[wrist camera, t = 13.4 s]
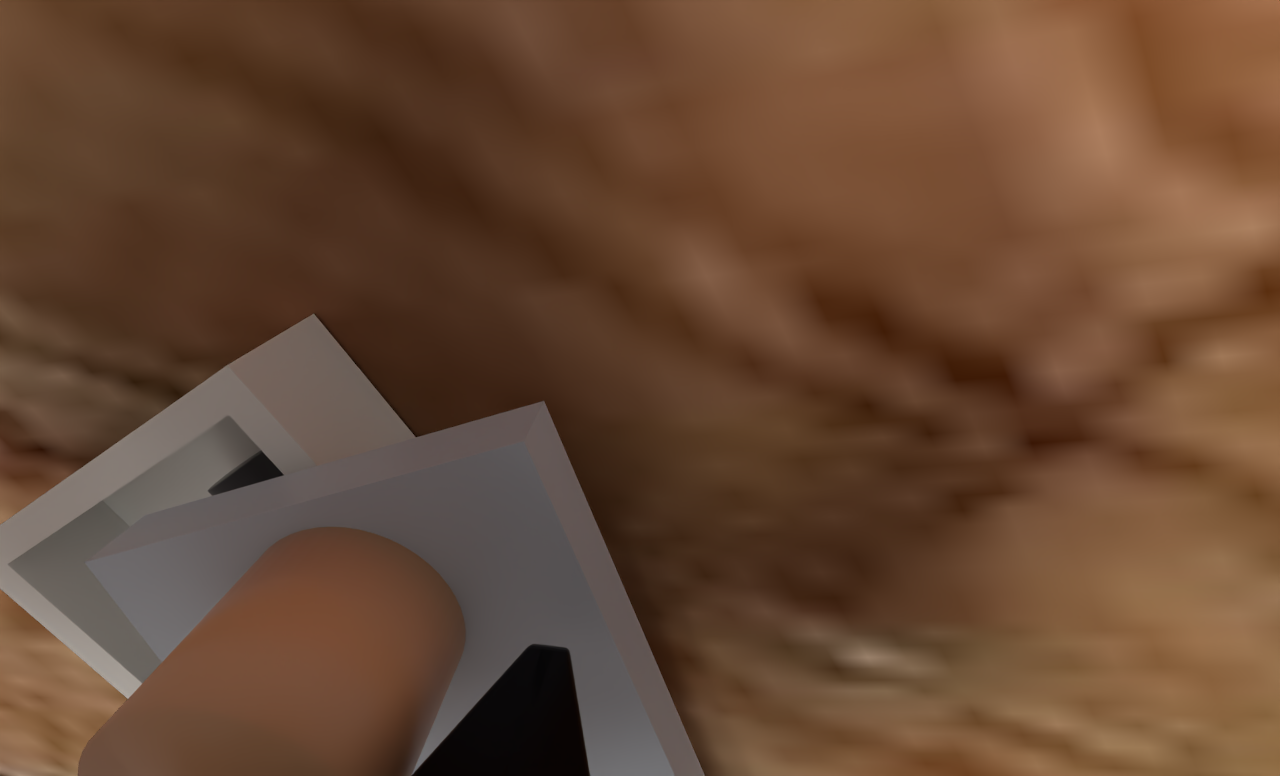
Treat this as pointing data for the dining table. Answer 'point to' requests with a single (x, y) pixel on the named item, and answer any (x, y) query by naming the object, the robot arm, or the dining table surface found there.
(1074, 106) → the dining table surface
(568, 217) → the dining table surface
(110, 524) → the white tray with rod
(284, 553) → the cover
